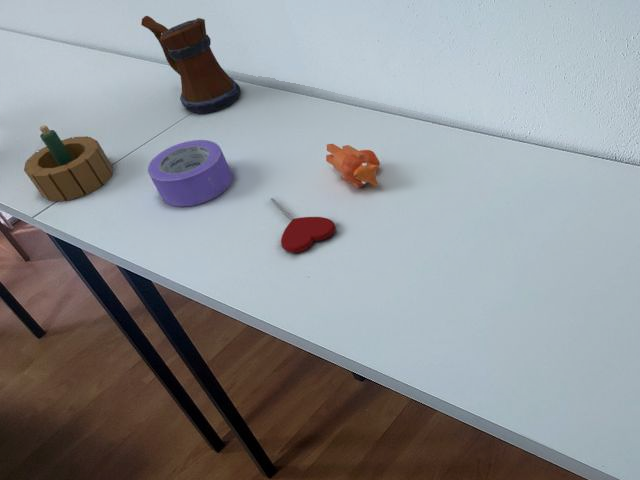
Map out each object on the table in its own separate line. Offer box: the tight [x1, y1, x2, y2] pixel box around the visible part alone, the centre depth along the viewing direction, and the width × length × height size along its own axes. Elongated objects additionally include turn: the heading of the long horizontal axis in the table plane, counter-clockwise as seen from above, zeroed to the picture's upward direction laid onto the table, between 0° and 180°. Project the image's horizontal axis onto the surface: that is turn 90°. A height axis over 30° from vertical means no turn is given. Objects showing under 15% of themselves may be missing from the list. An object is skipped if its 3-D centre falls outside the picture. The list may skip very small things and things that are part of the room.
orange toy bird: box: [325, 143, 381, 188], centre depth 99 cm, size 5×8×12 cm
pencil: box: [38, 124, 74, 166], centre depth 107 cm, size 2×2×10 cm
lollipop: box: [270, 197, 336, 254], centre depth 94 cm, size 8×1×15 cm
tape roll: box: [147, 139, 233, 208], centre depth 103 cm, size 12×12×5 cm
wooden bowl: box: [23, 136, 114, 202], centre depth 109 cm, size 12×12×5 cm
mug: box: [140, 15, 241, 115], centre depth 122 cm, size 18×12×15 cm, turn 53°
